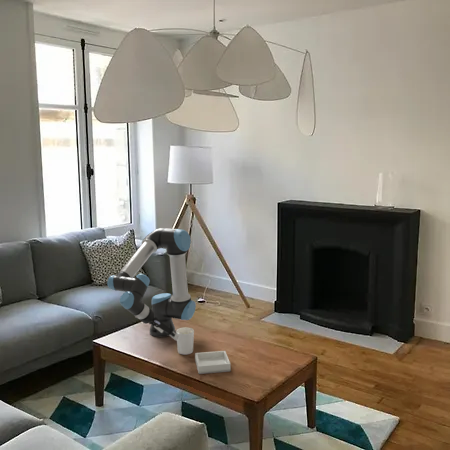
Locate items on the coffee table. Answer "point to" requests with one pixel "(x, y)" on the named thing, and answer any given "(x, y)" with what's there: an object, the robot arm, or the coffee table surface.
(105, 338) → the coffee table surface
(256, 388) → the coffee table surface
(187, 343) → the candle holder
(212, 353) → the lipped tray
